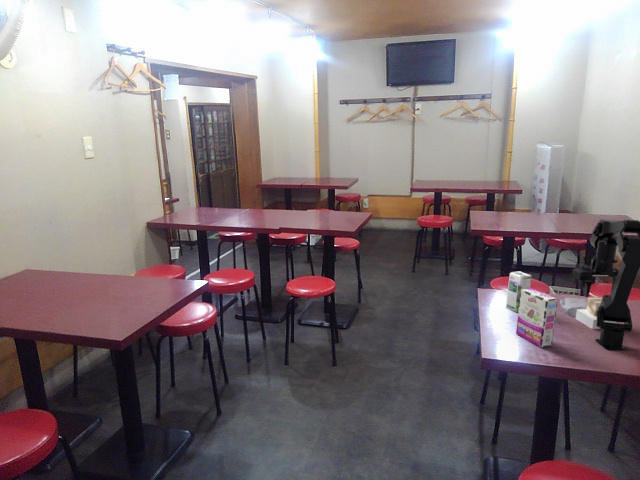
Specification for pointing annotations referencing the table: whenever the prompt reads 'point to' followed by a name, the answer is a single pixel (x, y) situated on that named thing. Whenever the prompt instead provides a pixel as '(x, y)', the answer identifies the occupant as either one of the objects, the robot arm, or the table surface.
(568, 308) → the stone block
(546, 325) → the candy bar box
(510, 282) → the syrup box
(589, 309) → the birch cube
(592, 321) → the base block
